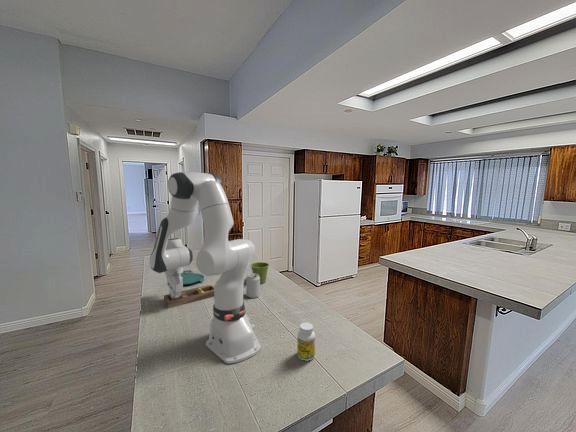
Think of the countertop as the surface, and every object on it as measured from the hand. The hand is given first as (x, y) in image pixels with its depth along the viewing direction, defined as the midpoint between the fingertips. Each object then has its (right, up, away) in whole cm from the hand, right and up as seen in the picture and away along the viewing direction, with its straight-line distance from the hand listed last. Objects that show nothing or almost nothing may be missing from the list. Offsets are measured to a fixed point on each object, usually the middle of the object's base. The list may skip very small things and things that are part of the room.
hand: (175, 294), depth 127 cm
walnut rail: (+7, -3, +5) cm, 9 cm away
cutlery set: (-8, 0, +33) cm, 34 cm away
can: (+39, -3, +9) cm, 40 cm away
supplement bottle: (+65, -10, -39) cm, 77 cm away
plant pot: (+41, -1, +28) cm, 50 cm away
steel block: (0, -4, 0) cm, 4 cm away
